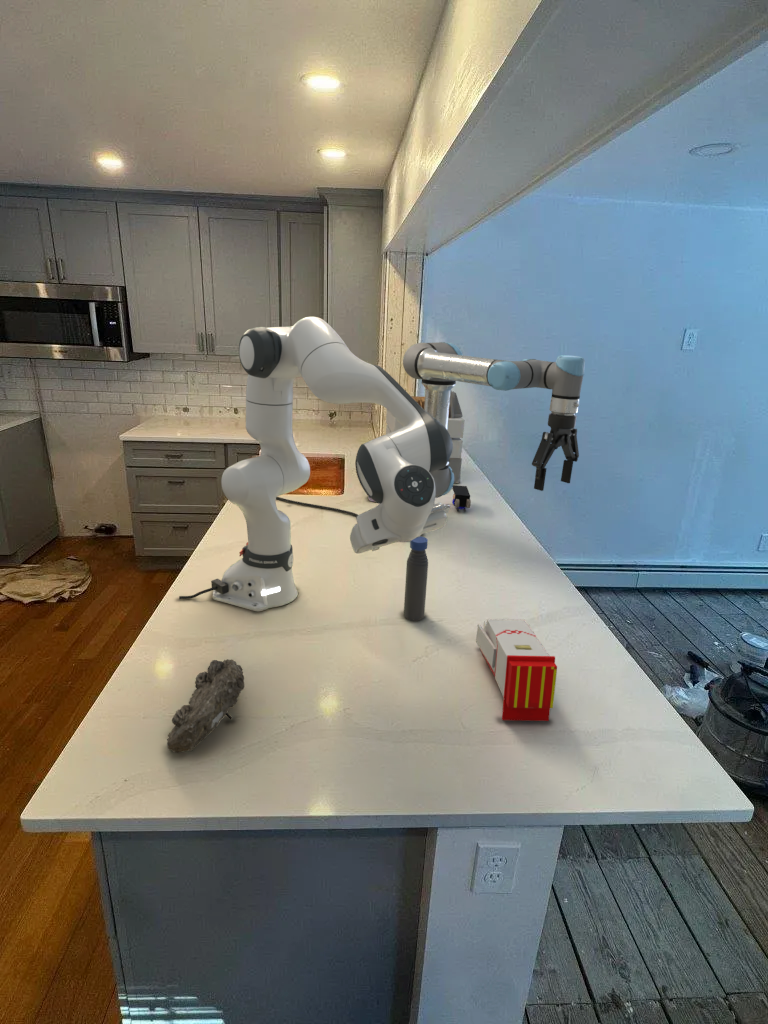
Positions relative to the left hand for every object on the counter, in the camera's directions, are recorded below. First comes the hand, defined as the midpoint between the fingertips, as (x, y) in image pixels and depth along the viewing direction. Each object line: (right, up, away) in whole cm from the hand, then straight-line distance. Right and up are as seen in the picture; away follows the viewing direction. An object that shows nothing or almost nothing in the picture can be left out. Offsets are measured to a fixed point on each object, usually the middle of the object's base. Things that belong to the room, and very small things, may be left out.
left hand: (395, 540), depth 123 cm
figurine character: (+28, +8, +107) cm, 111 cm away
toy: (+25, -30, +1) cm, 39 cm away
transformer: (+15, +25, +152) cm, 155 cm away
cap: (+6, -1, +17) cm, 18 cm away
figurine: (-5, +12, +113) cm, 113 cm away
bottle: (+5, -21, +24) cm, 32 cm away
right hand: (+47, +14, +43) cm, 65 cm away
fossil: (-35, -33, -15) cm, 50 cm away
